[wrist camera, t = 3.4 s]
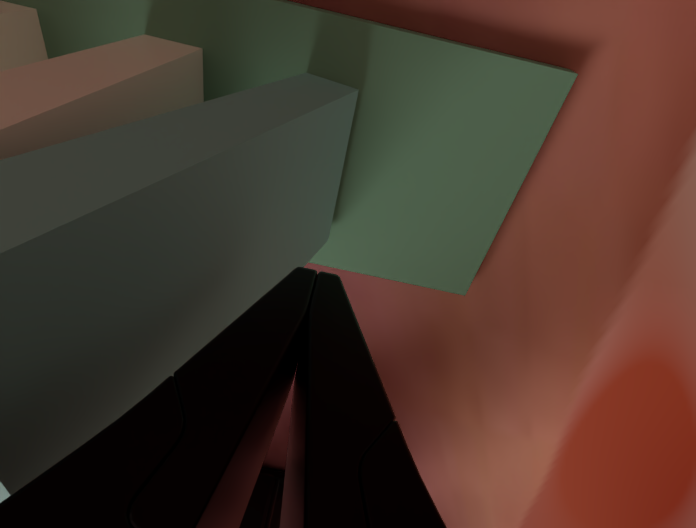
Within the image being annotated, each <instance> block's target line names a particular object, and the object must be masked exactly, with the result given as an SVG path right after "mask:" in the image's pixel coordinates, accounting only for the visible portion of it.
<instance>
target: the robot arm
mask: <svg viewBox="0 0 696 528" xmlns="http://www.w3.org/2000/svg"><path fill="white" fill-rule="evenodd" d="M297 364H298V365H297ZM296 369H297V370H296ZM295 372H296V375H295ZM173 375H174V377H173V376H169V377H168V378H166V379H165V380H164V381H163V382H162V383H161V384H160V385H158V386H157V387H156V388H155V389H154V390H153V391H151V392H150V393H149V394H148V395H147V396H145V397H144V398H143V399H142V400H141V401H139V402H138V403H137V404H136V405H134V406H133V407H132V408H131V409H129V410H128V411H127V412H126V413H124V414H123V415H122V416H121V417H120V418H118V419H117V420H116V421H114V422H113V423H111V424H110V425H109V426H107V427H106V428H105V429H103V430H102V431H101V432H99V433H98V434H96V435H95V436H94V437H92V438H91V439H90V440H88V441H87V442H86V443H84V444H83V445H81V446H80V447H79V448H77V449H76V450H74V451H73V452H72V453H70V454H69V455H67V456H66V457H64V458H63V459H62V460H60V461H59V462H57V463H56V464H55V465H53V466H52V467H50V468H49V469H47V470H46V471H45V472H43V473H42V474H40V475H39V476H38V477H36V478H35V479H33V480H32V481H30V482H29V483H28V484H26V485H25V486H23V487H22V488H20V489H19V490H18V491H16V492H15V493H13V494H12V495H11V496H9V497H8V498H6V499H5V500H3V501H2V502H1V503H0V528H447V527H446V525H445V524H444V522H443V520H442V518H441V516H440V514H439V512H438V510H437V508H436V506H435V504H434V502H433V500H432V498H431V496H430V494H429V492H428V490H427V488H426V486H425V484H424V482H423V480H422V478H421V476H420V474H419V471H418V469H417V467H416V465H415V462H414V460H413V458H412V455H411V453H410V451H409V449H408V446H407V444H406V441H405V439H404V436H403V434H402V431H401V429H400V426H399V424H398V422H397V421H394V420H395V414H394V412H393V409H392V407H391V404H390V402H389V399H388V397H387V394H386V392H385V389H384V387H383V384H382V382H381V379H380V377H379V374H378V372H377V369H376V367H375V364H374V362H373V359H372V357H371V354H370V352H369V349H368V347H367V344H366V342H365V339H364V337H363V334H362V332H361V329H360V327H359V324H358V322H357V319H356V317H355V314H354V312H353V309H352V307H351V304H350V302H349V299H348V296H347V294H346V291H345V289H344V286H343V284H342V281H341V279H340V277H339V276H338V275H336V274H331V273H326V272H319V273H318V275H317V271H316V270H313V269H308V268H303V267H296V268H295V269H294V270H292V271H291V272H290V273H289V274H288V275H287V276H285V277H284V278H283V279H282V280H281V281H280V282H279V283H277V284H276V285H275V286H274V287H273V288H272V289H270V290H269V291H268V292H267V293H266V294H265V295H263V296H262V297H261V298H260V299H259V300H258V301H256V302H255V303H254V304H253V305H252V306H251V307H249V308H248V309H247V310H246V311H245V312H244V313H242V314H241V315H240V316H239V317H238V318H237V319H235V320H234V321H233V322H232V323H231V324H230V325H228V326H227V327H226V328H225V329H224V330H223V331H222V332H220V333H219V334H218V335H217V336H216V337H215V338H213V339H212V340H211V341H210V342H209V343H208V344H206V345H205V346H204V347H203V348H202V349H201V350H199V351H198V352H197V353H196V354H195V355H194V356H192V357H191V358H190V359H189V360H188V361H187V362H185V363H184V364H183V365H182V366H181V367H180V368H178V369H177V370H176V371H175V372H174V374H173ZM294 376H295V381H294V389H293V398H292V408H291V418H290V428H289V438H288V448H287V458H286V468H285V472H280V471H274V470H269V469H264V468H261V467H262V465H263V462H264V459H265V456H266V454H267V451H268V448H269V446H270V443H271V440H272V437H273V435H274V432H275V429H276V427H277V424H278V421H279V419H280V416H281V413H282V410H283V408H284V405H285V402H286V400H287V397H288V394H289V391H290V389H291V386H292V383H293V380H294Z"/></svg>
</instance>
